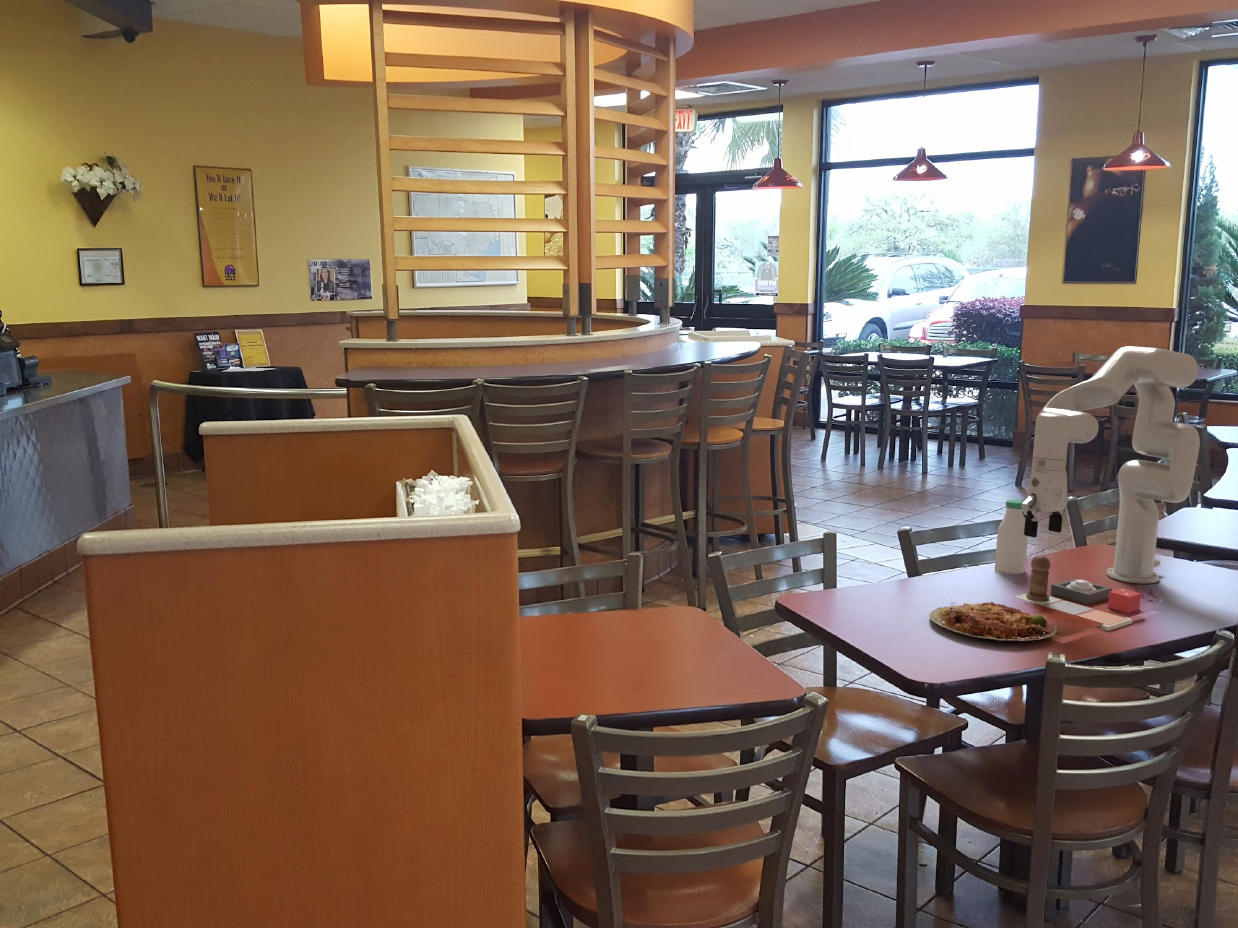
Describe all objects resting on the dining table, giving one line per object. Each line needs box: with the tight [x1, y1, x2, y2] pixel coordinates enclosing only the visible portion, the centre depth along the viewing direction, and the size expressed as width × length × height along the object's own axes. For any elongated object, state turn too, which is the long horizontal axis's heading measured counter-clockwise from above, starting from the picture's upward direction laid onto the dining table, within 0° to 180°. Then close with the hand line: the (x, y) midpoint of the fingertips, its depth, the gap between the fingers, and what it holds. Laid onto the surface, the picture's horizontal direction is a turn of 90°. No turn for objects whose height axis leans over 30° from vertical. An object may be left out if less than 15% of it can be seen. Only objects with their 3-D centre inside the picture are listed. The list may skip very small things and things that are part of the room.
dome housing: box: [1050, 577, 1113, 605], centre depth 263 cm, size 10×10×4 cm
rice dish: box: [928, 601, 1058, 642], centre depth 242 cm, size 28×28×5 cm
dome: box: [1066, 579, 1097, 593], centre depth 263 cm, size 7×7×3 cm
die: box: [1107, 587, 1142, 618], centre depth 253 cm, size 5×5×5 cm
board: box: [1013, 592, 1134, 632], centre depth 254 cm, size 10×26×1 cm, turn 34°
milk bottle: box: [994, 499, 1029, 575], centre depth 284 cm, size 8×8×20 cm
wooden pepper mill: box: [1026, 555, 1051, 601], centre depth 260 cm, size 5×5×11 cm
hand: (1042, 533), depth 257 cm, fingers open, 9 cm apart
